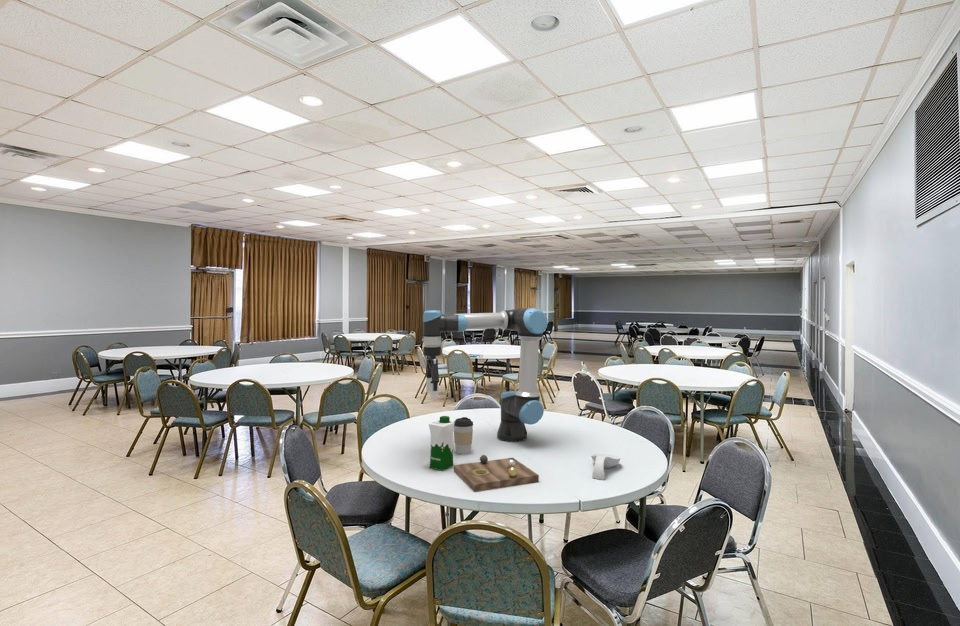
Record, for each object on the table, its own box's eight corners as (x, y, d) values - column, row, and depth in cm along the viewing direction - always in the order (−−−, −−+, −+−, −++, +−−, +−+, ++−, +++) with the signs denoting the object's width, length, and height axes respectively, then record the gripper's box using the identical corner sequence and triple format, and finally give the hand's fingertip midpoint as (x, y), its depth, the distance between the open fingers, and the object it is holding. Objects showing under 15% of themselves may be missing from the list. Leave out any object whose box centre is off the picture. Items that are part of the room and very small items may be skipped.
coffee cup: (470, 455, 210) (470, 421, 209) (450, 454, 211) (450, 420, 211) (475, 449, 218) (475, 417, 218) (455, 448, 220) (456, 416, 220)
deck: (512, 463, 200) (512, 457, 200) (538, 481, 180) (538, 475, 180) (453, 471, 190) (453, 465, 190) (474, 491, 170) (474, 484, 170)
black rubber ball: (485, 461, 195) (485, 453, 195) (488, 463, 192) (489, 455, 192) (478, 462, 194) (478, 454, 194) (481, 464, 191) (481, 456, 191)
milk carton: (456, 465, 197) (456, 417, 197) (443, 472, 189) (443, 421, 189) (439, 461, 202) (439, 414, 201) (426, 468, 194) (426, 418, 193)
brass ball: (514, 474, 180) (514, 465, 180) (518, 477, 177) (519, 468, 177) (505, 475, 179) (506, 466, 178) (510, 479, 175) (510, 469, 175)
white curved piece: (593, 459, 206) (593, 443, 206) (621, 463, 202) (621, 446, 202) (583, 478, 184) (583, 459, 184) (614, 482, 180) (615, 463, 180)
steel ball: (513, 465, 190) (513, 457, 189) (516, 468, 187) (517, 460, 186) (506, 466, 188) (506, 458, 188) (509, 469, 185) (509, 461, 185)
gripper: (419, 344, 217) (419, 390, 217) (428, 349, 193) (428, 401, 193) (435, 343, 219) (435, 389, 219) (446, 348, 195) (446, 400, 195)
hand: (432, 395), depth 206 cm, fingers open, 13 cm apart
